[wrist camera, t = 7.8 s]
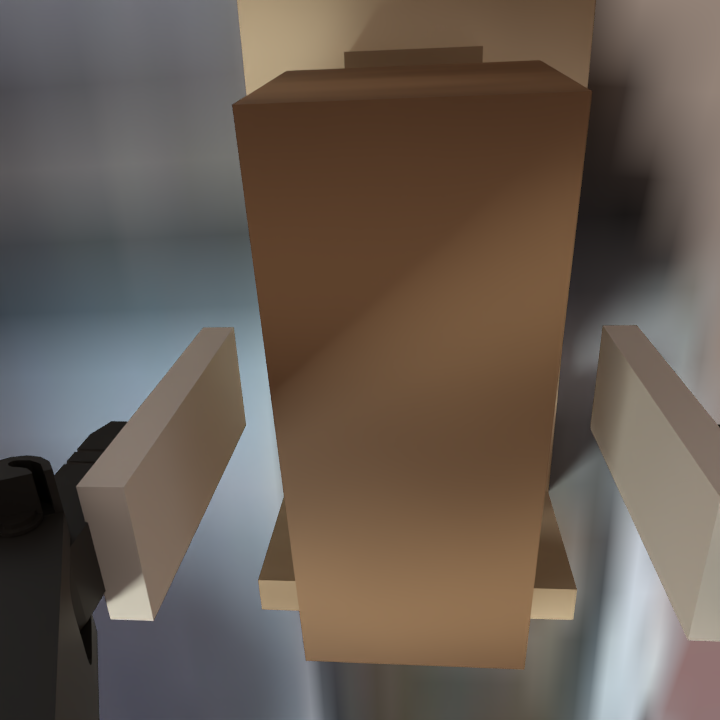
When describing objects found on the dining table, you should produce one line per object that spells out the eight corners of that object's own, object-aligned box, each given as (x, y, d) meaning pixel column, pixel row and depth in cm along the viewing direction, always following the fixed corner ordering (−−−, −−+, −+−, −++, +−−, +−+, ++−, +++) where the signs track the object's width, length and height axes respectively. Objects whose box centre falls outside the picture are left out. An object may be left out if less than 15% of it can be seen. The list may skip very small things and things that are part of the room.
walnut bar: (502, 529, 17) (524, 669, 13) (328, 525, 17) (306, 660, 14) (540, 59, 12) (592, 91, 8) (286, 70, 12) (232, 104, 8)
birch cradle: (540, 499, 21) (572, 619, 17) (294, 495, 22) (262, 609, 17) (597, -123, 14) (678, -206, 10) (237, -100, 15) (160, -167, 11)
